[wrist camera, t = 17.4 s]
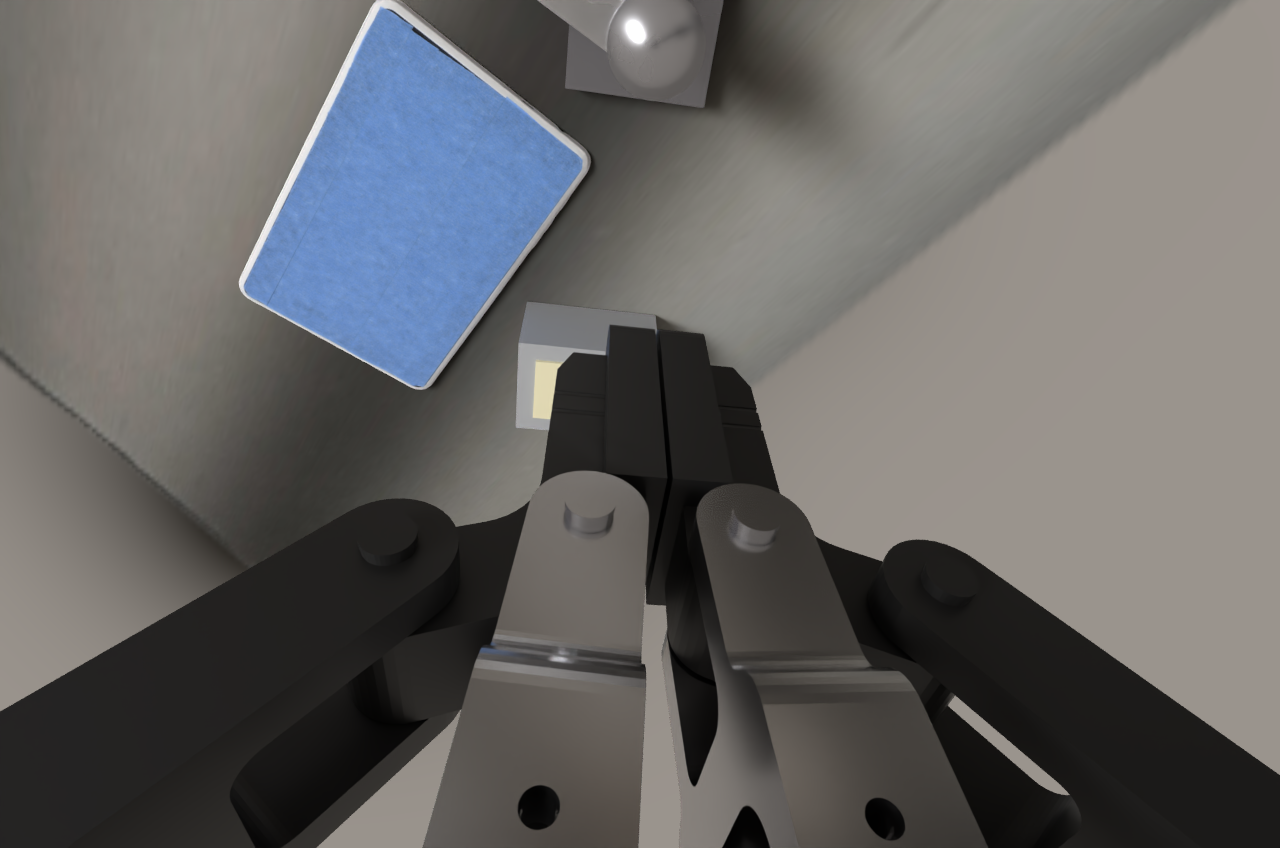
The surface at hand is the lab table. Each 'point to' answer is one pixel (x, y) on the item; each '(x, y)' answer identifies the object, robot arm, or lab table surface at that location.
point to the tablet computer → (410, 200)
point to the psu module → (559, 351)
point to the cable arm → (642, 41)
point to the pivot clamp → (596, 75)
